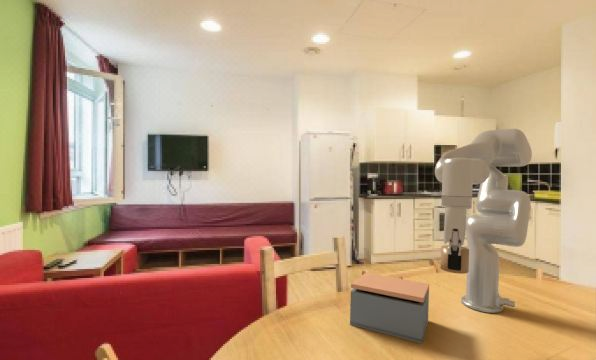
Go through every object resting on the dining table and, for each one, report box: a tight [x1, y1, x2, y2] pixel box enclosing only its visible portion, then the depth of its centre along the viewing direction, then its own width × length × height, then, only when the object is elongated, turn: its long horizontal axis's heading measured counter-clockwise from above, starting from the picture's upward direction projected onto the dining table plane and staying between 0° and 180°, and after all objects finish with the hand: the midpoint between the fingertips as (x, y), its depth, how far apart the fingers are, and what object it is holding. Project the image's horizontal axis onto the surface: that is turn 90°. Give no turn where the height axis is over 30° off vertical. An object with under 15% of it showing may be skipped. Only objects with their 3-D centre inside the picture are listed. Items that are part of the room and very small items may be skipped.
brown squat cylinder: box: [439, 244, 469, 275], centre depth 86 cm, size 7×7×6 cm
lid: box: [350, 272, 430, 302], centre depth 93 cm, size 20×15×1 cm
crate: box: [349, 288, 430, 345], centre depth 93 cm, size 20×15×10 cm
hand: (454, 265), depth 86 cm, fingers closed on brown squat cylinder, 7 cm apart
